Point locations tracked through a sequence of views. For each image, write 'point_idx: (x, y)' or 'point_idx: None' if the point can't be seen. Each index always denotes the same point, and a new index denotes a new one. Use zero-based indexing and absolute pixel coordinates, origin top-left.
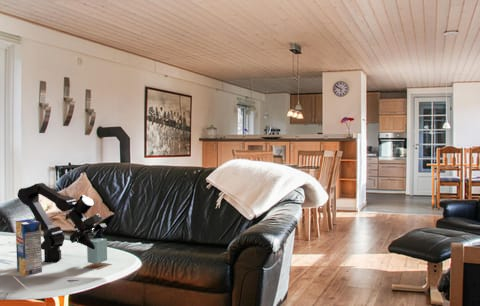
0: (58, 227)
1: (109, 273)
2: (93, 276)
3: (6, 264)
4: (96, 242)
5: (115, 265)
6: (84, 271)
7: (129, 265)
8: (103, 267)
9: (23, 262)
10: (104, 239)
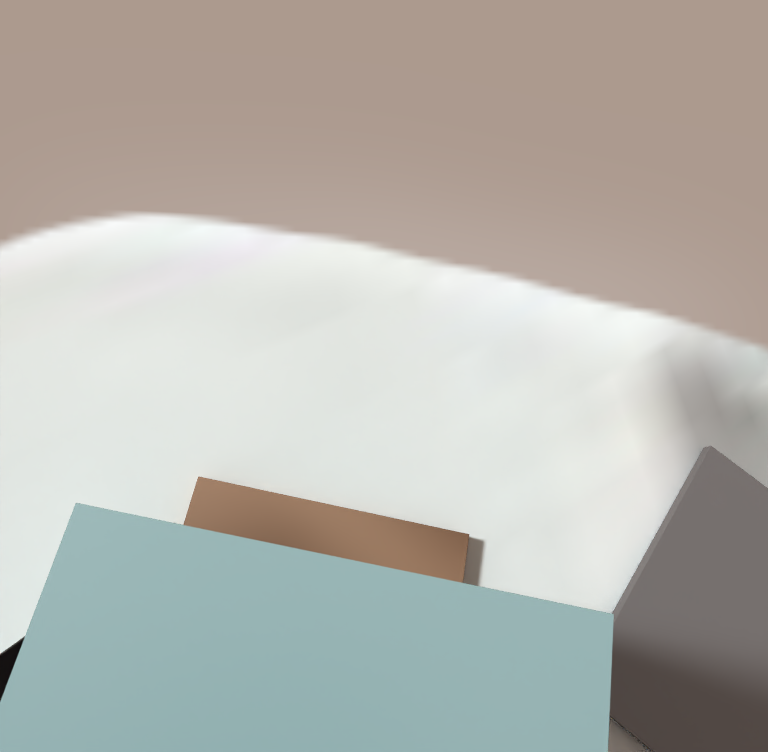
0: None
1: (516, 361)
2: (660, 483)
3: None
4: (607, 630)
5: (196, 438)
6: None
7: (179, 271)
8: (374, 517)
9: None
10: (176, 547)
